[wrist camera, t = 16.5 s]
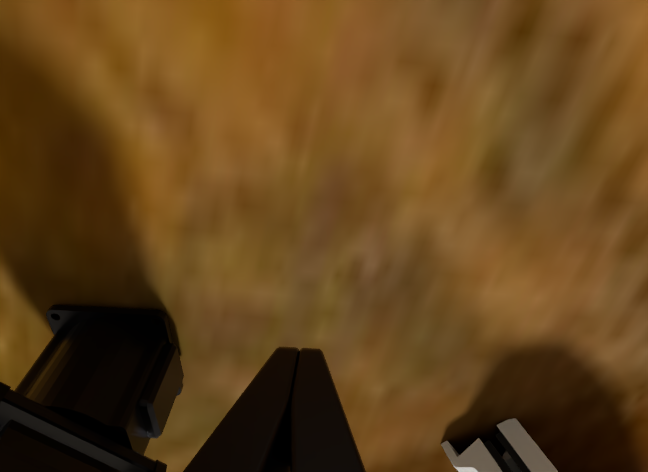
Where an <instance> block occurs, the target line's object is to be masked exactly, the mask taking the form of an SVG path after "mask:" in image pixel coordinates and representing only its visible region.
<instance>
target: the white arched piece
mask: <svg viewBox="0 0 648 472" xmlns="http://www.w3.org/2000/svg"><path fill="white" fill-rule="evenodd" d="M497 427H498V428H499V430H500V432H499V433H498V434H496V435H495V436H496V437H497V438H498V440H499V441H500V443H501V444H502V445H503V447H504V448H505V449H506V451H505V452H504V454H503V457H502V456H501V455H500V453H499V452H498V451H497V449H496V448H495V447H494V446H493V444H492V443H491V442H490V440H488V441H486V442H485V443H484V444H483V442H482V441H481V440H480V439H479V438H478V439H477V440H476V441H475V442H474V443H473V444H471V445H470V446H469V447H468V448H467V449H466V450H465V451H464V452H463V453H462V454H461V455H459V454H458V453H457V451H456V450H455V449H454V448H453V447H452V445H451V444H450V443H449V442H448V441H445V442H443V443H442V444H441V445H442V447H443V449H444V451H445V452H446V454H447V456H448V458H449V459H450V461H451V463H452V464H453V466H454V467H455V468H456V469H457V470H458V471H459V472H558V471H557V469H556V468H555V467H554V466H553V464H552V463H551V462H550V461H549V459H548V458H547V457H546V456H545V454H544V453H543V452H542V451H541V449H540V448H539V447H538V446H537V444H536V443H535V442H534V441H533V439H532V438H531V437H530V436H529V434H528V433H527V432H526V431H525V429H524V428H523V427H522V426H521V424H520V423H519V422H518V421H517V419H516V418H513V419H508V420H506V421H504V422H502V423H500V424H498V425H497Z"/></svg>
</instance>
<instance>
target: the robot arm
mask: <svg viewBox="0 0 648 472" xmlns="http://www.w3.org/2000/svg"><path fill="white" fill-rule="evenodd" d="M46 316H47V319H48V321H49V324H50V326H51V329H52V331H53V333H54V336H53V338H52V339H51V341H50V342H49V343H48V345H47V346H46V348H45V349H44V350H43V352H42V353H41V354H40V356H39V357H38V359H37V360H36V361H35V363H34V364H33V366H32V367H31V368H30V370H29V371H28V373H27V374H26V375H25V377H24V378H23V379H22V381H21V382H20V384H19V385H18V386H17V388H16V389H15V391H13V390H11V389H10V388H11V387H10V386H8V385H6V384H4V383H2V382H0V472H166V468H167V465H166V464H165V463H163V462H161V461H159V460H156V461H154V460H152V459H150V458H148V457H146V456H144V453H145V450H146V448H147V445H148V443H149V440H150V438H158V437H159V436H160V435H161V434H162V432H163V429H164V427H165V424H166V422H167V419H168V416H169V414H170V411H171V408H172V406H173V403H174V401H175V398H176V396H177V395H179V394H180V393H181V391H182V388H183V384H182V380H183V377H184V375H183V370H182V366H181V361H180V357H179V352H178V348H177V346H176V345H175V344H174V343H173V339H172V335H171V331H170V326H169V322H168V317H167V315H166V314H165V313H164V312H162V311H160V310H149V309H129V308H109V307H89V306H68V305H53V306H51V307H50V309H49V310H48V311H47V313H46ZM156 319H158V320H156ZM183 472H366V471H365V468H364V465H363V463H362V460H361V457H360V454H359V452H358V449H357V446H356V443H355V440H354V438H353V435H352V432H351V429H350V427H349V424H348V421H347V418H346V415H345V413H344V410H343V407H342V404H341V402H340V399H339V396H338V393H337V391H336V388H335V385H334V382H333V379H332V377H331V374H330V371H329V368H328V366H327V363H326V360H325V357H324V354H323V352H322V351H321V350H320V349H312V348H302V349H301V350H300V351H299V349H298V348H294V347H279V348H277V349H276V350H275V351H274V352H273V354H272V355H271V356H270V358H269V359H268V360H267V362H266V363H265V364H264V366H263V367H262V368H261V370H260V371H259V372H258V374H257V375H256V376H255V377H254V379H253V380H252V381H251V383H250V384H249V385H248V387H247V388H246V389H245V391H244V392H243V393H242V395H241V396H240V397H239V399H238V400H237V401H236V403H235V404H234V405H233V407H232V408H231V409H230V410H229V412H228V413H227V414H226V416H225V417H224V418H223V420H222V421H221V422H220V424H219V425H218V426H217V428H216V429H215V430H214V432H213V433H212V434H211V436H210V437H209V438H208V439H207V441H206V442H205V443H204V445H203V446H202V447H201V449H200V450H199V451H198V453H197V454H196V455H195V457H194V458H193V459H192V461H191V462H190V463H189V465H188V466H187V467H186V468H185V470H184V471H183Z"/></svg>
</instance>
